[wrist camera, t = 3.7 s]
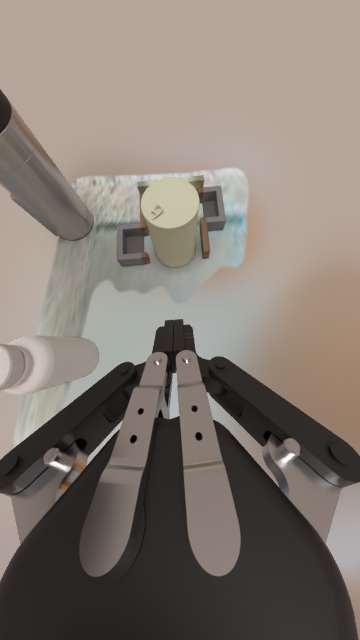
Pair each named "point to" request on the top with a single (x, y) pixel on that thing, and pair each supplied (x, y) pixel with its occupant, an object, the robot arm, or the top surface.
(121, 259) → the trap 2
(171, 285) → the top surface
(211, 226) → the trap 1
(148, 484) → the robot arm
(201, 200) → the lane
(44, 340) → the pill bottle
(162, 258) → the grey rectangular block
